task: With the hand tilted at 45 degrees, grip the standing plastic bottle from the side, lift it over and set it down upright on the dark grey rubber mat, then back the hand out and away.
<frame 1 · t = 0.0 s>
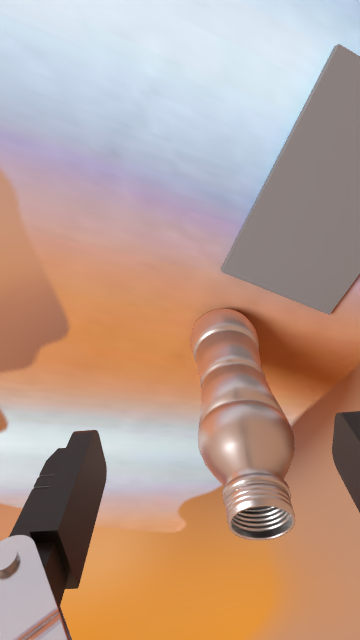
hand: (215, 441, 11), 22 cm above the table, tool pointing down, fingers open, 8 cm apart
plastic bottle: (221, 327, 36), on the table
grey rubber mat: (329, 203, 29), on the table
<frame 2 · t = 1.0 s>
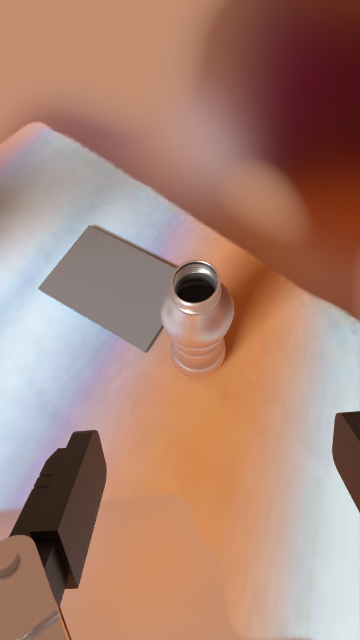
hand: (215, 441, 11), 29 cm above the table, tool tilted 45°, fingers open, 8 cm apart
plastic bottle: (198, 356, 43), on the table
grey rubber mat: (116, 285, 47), on the table
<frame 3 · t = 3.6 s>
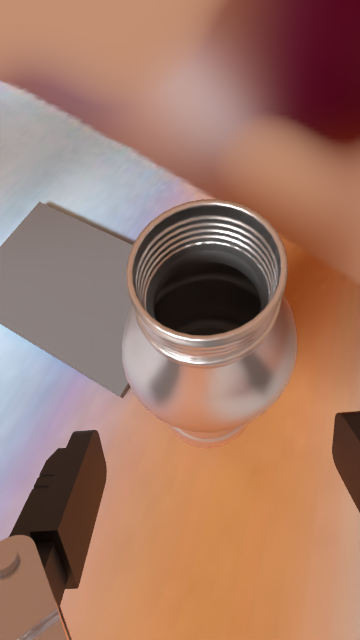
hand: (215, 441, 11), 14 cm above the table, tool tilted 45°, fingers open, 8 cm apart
plastic bottle: (207, 402, 26), on the table
grey rubber mat: (77, 290, 31), on the table
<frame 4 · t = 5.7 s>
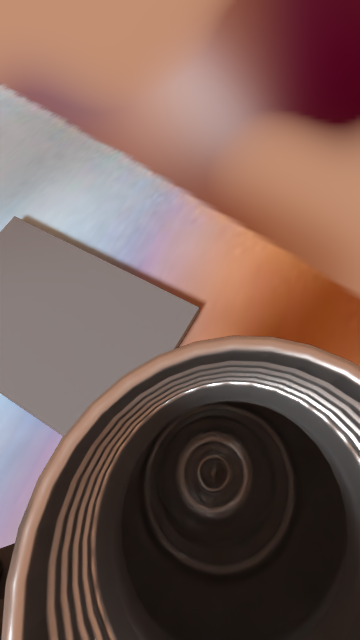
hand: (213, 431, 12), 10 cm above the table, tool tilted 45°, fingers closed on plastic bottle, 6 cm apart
plastic bottle: (213, 471, 21), on the table, touching gripper
grey rubber mat: (56, 324, 25), on the table
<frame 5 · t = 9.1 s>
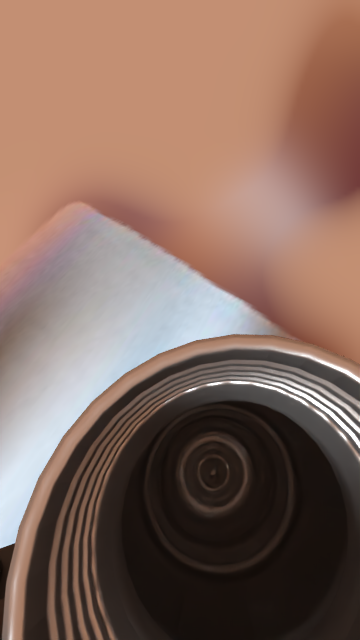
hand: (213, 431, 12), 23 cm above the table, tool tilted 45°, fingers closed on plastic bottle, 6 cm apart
plastic bottle: (213, 471, 21), point 12 cm above the table, touching gripper
when the fingers open (12 cm above the table, at t = 12.5 s): plastic bottle drops 1 cm, resting on grey rubber mat.
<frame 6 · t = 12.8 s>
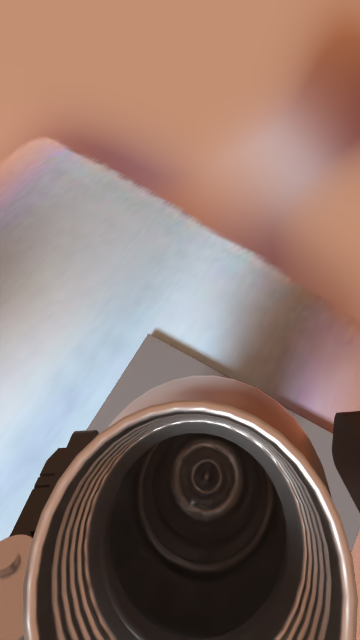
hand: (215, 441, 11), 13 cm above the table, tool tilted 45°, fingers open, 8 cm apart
plastic bottle: (207, 475, 22), point 1 cm above the table, touching grey rubber mat
grey rubber mat: (214, 470, 23), on the table
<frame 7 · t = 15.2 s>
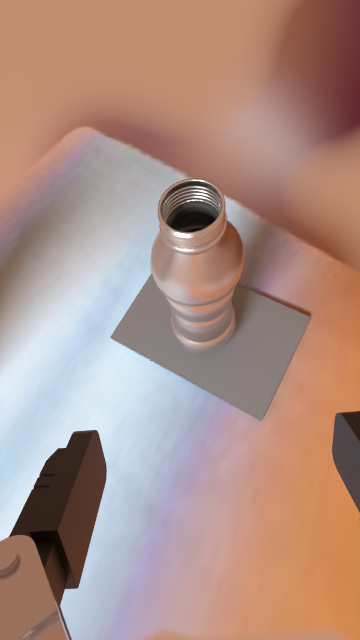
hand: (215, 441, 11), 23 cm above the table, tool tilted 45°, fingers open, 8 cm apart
plastic bottle: (204, 330, 37), point 1 cm above the table, touching grey rubber mat
grey rubber mat: (208, 329, 37), on the table
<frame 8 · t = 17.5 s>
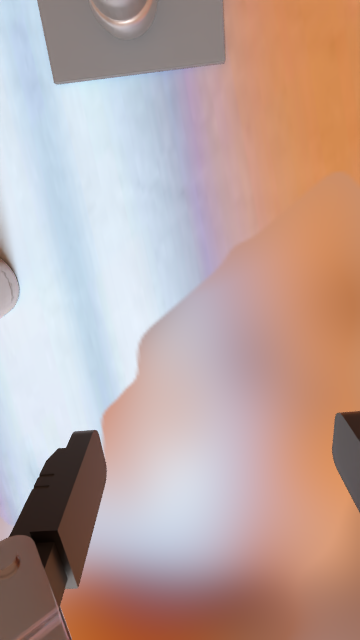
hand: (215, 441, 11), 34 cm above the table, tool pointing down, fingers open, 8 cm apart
plastic bottle: (127, 5, 33), point 1 cm above the table, touching grey rubber mat
grey rubber mat: (130, 1, 34), on the table
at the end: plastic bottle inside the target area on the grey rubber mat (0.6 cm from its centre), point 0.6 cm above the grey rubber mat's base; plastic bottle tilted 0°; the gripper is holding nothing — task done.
